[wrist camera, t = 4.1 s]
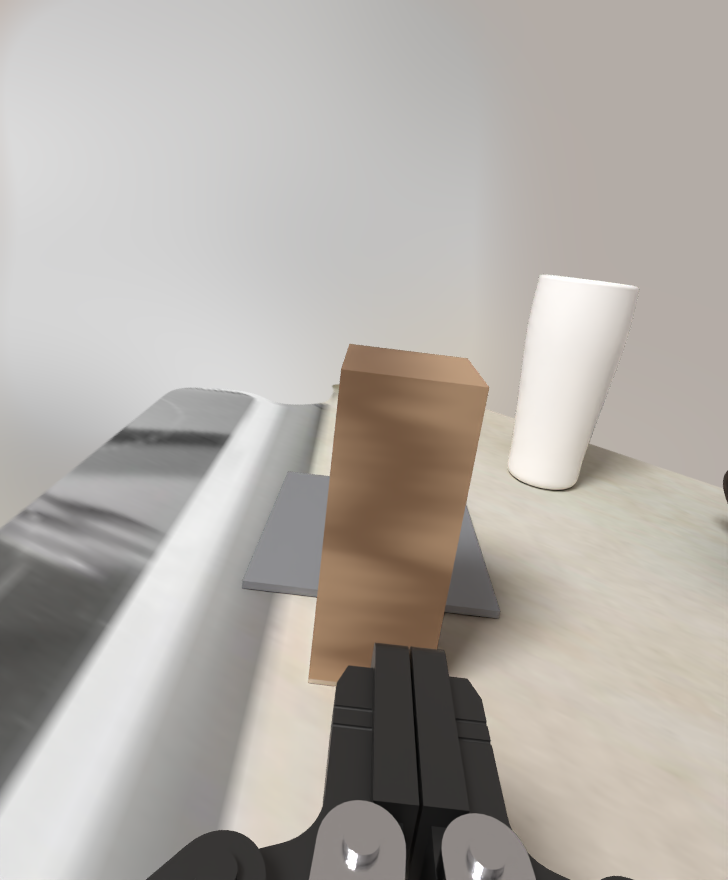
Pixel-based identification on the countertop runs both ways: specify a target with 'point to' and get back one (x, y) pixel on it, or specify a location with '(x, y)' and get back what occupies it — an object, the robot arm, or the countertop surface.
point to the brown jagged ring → (725, 485)
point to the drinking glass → (566, 375)
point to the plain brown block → (393, 502)
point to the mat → (301, 539)
